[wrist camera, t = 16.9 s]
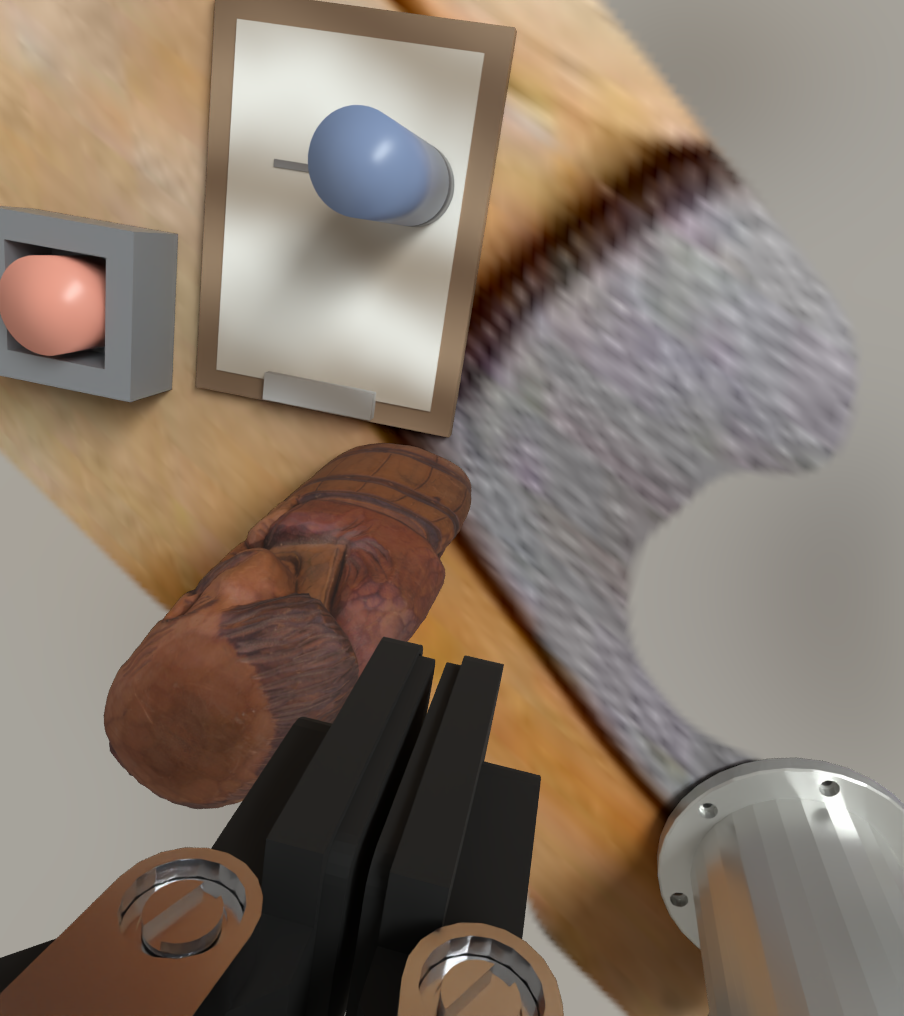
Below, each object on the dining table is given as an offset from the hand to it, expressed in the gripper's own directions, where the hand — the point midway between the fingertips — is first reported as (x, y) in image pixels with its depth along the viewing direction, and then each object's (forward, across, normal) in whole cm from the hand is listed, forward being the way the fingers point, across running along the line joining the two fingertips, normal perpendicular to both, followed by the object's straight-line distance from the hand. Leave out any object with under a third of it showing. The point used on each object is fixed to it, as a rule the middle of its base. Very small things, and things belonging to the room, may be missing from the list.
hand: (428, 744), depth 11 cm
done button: (+24, +21, -1) cm, 32 cm away
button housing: (+25, +21, -1) cm, 33 cm away
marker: (+24, +7, -8) cm, 27 cm away
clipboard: (+25, +10, -6) cm, 28 cm away
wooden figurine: (+25, +8, +7) cm, 27 cm away
